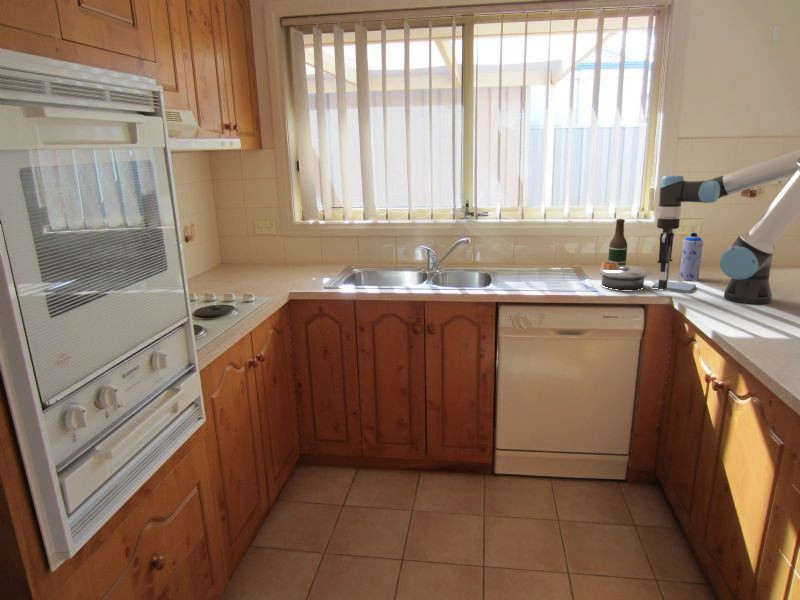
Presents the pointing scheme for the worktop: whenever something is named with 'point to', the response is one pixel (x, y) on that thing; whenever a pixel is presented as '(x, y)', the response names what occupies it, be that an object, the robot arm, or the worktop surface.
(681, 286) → the plate
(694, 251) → the aerosol can
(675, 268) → the worktop surface
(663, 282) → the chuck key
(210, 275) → the worktop surface
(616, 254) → the beer bottle
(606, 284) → the cylinder
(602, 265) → the disc
